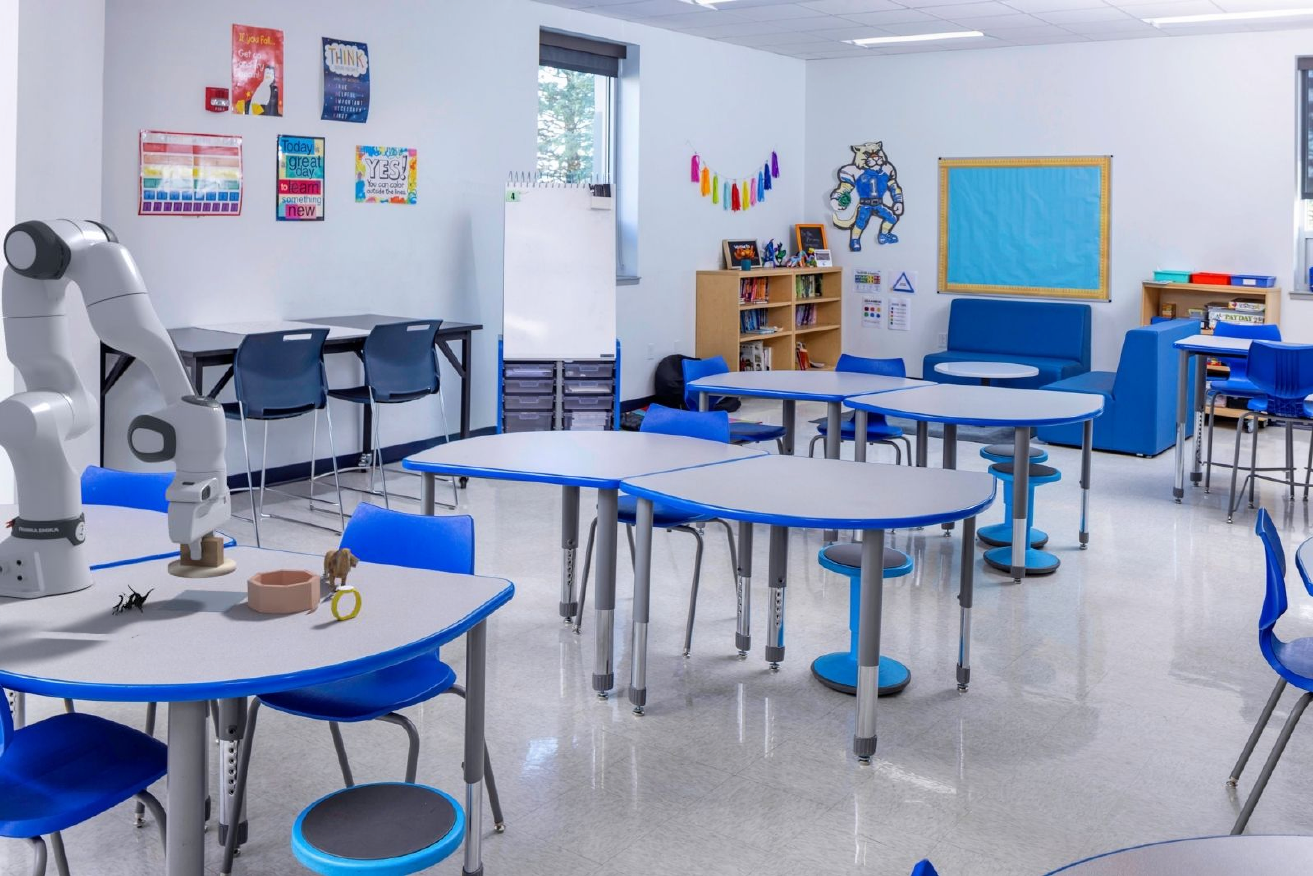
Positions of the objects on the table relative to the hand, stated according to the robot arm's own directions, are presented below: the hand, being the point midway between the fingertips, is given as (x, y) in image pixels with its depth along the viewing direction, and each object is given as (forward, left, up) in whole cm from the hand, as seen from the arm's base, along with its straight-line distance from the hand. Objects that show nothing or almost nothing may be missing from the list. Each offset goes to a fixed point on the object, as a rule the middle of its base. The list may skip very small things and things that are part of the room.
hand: (201, 556), depth 232 cm
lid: (0, 0, -3) cm, 3 cm away
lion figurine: (+21, +16, -10) cm, 28 cm away
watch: (+29, -4, -10) cm, 30 cm away
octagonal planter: (+16, 0, -10) cm, 18 cm away
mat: (+1, 0, -10) cm, 10 cm away
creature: (-11, -8, -10) cm, 16 cm away
